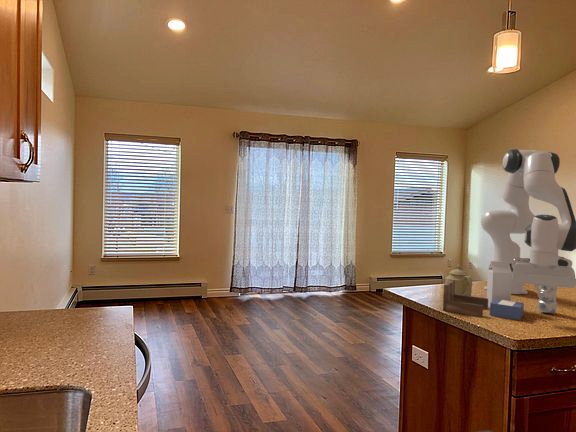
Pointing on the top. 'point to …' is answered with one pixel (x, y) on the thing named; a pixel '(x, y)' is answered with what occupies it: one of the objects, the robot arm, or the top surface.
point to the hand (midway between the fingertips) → (542, 297)
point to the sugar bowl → (461, 281)
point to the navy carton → (506, 309)
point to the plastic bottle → (548, 300)
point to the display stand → (462, 301)
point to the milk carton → (499, 281)
